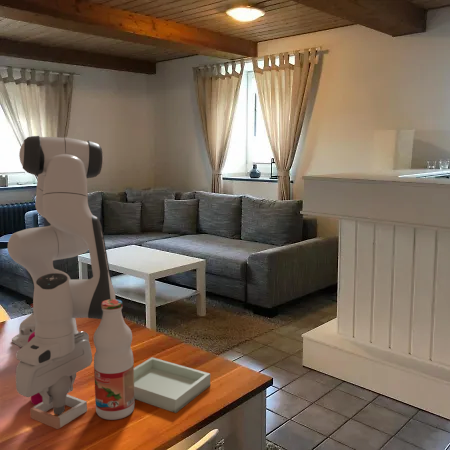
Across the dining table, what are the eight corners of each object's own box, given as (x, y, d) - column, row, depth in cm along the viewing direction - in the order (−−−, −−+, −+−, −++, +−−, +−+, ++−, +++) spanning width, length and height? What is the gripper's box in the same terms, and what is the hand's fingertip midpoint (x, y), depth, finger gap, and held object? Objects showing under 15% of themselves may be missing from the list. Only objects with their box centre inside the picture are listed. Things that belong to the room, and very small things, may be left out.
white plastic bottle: (141, 412, 122) (139, 303, 117) (106, 425, 116) (102, 311, 111) (123, 396, 129) (120, 293, 124) (89, 408, 123) (84, 300, 118)
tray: (114, 392, 131) (113, 379, 131) (152, 368, 145) (152, 357, 144) (175, 413, 121) (175, 399, 121) (210, 385, 135) (210, 373, 134)
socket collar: (30, 418, 119) (30, 408, 118) (60, 400, 127) (60, 391, 126) (57, 429, 114) (57, 419, 114) (87, 410, 122) (86, 401, 122)
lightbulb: (64, 422, 117) (62, 379, 115) (40, 419, 118) (38, 376, 116) (77, 409, 123) (75, 367, 121) (54, 406, 124) (52, 365, 122)
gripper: (78, 326, 128) (81, 376, 130) (9, 355, 110) (13, 412, 113) (96, 331, 125) (98, 382, 127) (28, 362, 107) (32, 420, 110)
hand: (58, 396), depth 120 cm, fingers closed on lightbulb, 5 cm apart
